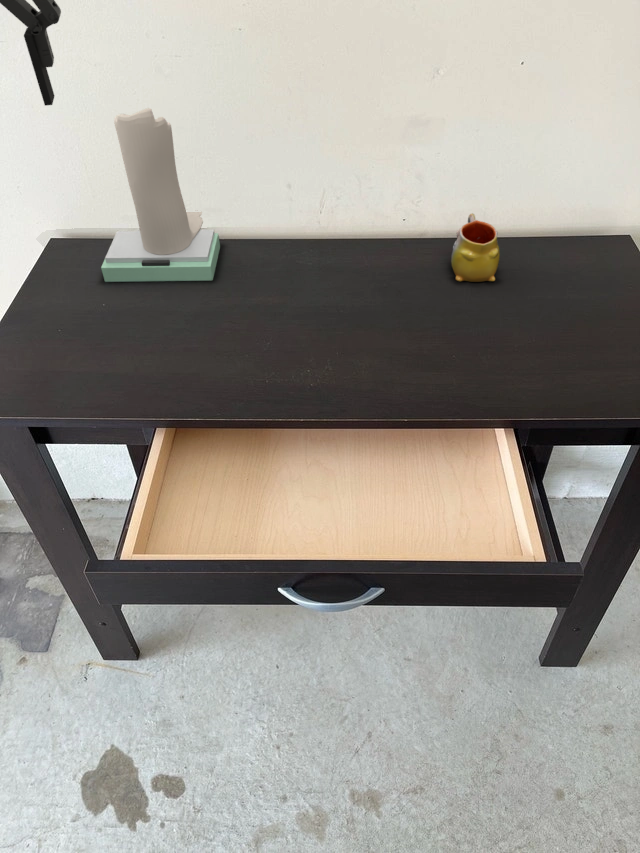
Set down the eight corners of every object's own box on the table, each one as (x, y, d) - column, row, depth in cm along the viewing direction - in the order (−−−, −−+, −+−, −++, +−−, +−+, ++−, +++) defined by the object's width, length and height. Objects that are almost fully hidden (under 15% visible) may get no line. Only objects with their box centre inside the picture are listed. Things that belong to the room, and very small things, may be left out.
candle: (212, 211, 105) (193, 76, 91) (181, 257, 95) (153, 114, 81) (170, 208, 106) (144, 73, 92) (135, 252, 97) (100, 110, 82)
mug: (498, 286, 94) (506, 244, 89) (450, 284, 95) (455, 242, 90) (492, 243, 103) (499, 203, 98) (448, 241, 103) (453, 201, 98)
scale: (104, 281, 97) (99, 262, 95) (119, 248, 104) (114, 229, 102) (212, 280, 97) (209, 261, 94) (220, 246, 104) (217, 228, 101)
